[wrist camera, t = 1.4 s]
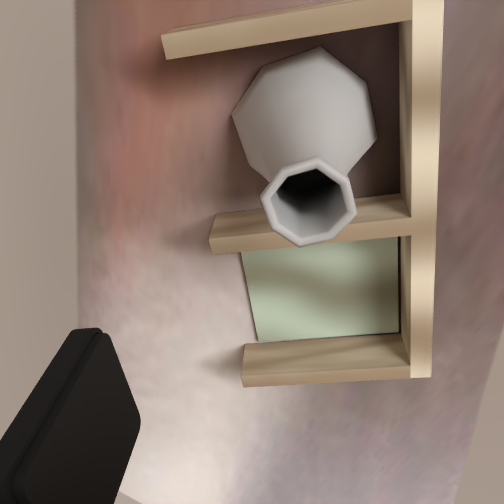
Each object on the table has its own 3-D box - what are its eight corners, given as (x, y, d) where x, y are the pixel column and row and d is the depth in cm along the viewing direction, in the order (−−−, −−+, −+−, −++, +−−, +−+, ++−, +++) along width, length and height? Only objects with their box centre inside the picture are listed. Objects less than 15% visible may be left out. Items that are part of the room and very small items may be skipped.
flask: (287, 211, 28) (282, 321, 19) (207, 108, 25) (160, 182, 16) (401, 140, 25) (456, 230, 16) (325, 16, 22) (344, 46, 14)
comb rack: (175, 27, 23) (160, 35, 20) (426, -16, 21) (444, -14, 19) (247, 355, 33) (243, 387, 31) (420, 343, 32) (430, 376, 29)
